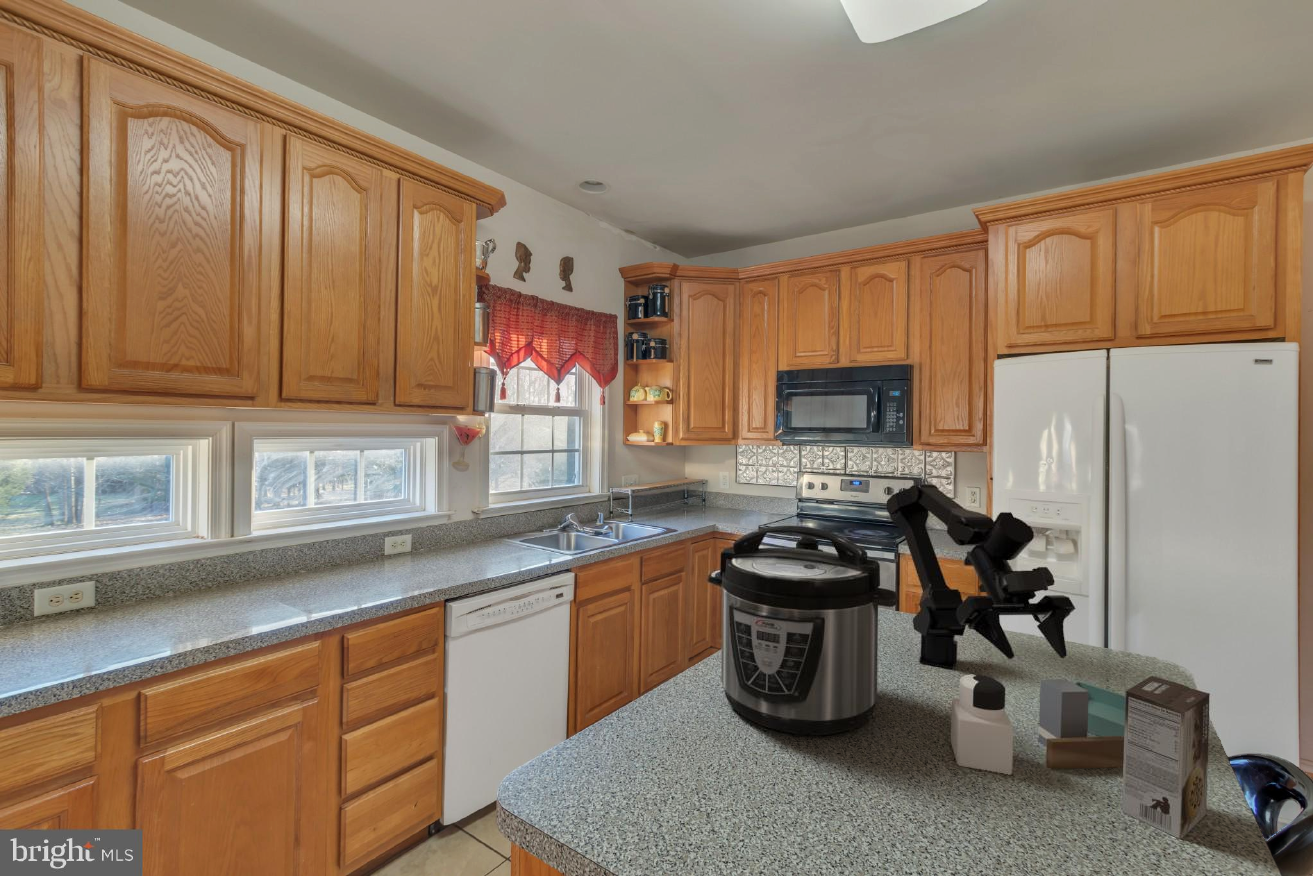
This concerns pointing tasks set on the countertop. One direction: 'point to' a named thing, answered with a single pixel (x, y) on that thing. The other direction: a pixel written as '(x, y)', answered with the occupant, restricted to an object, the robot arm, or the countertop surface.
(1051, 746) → the back rail
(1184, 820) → the coffee box
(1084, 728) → the grey upright cuboid
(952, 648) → the robot arm
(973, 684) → the medicine bottle
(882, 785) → the countertop surface
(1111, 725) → the tray
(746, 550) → the pressure cooker
